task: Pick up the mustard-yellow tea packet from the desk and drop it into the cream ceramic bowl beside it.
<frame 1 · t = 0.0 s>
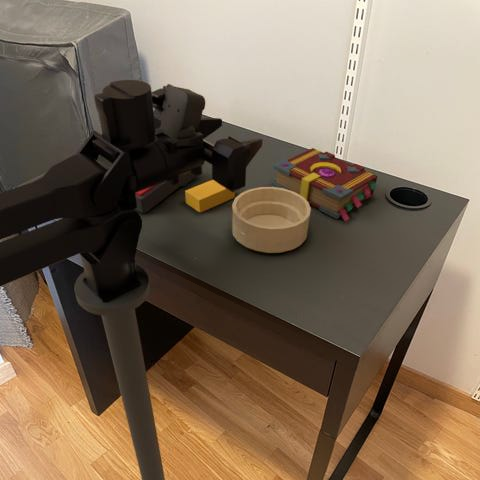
hand: (240, 131, 73), 14 cm above the table, tool horizontal, fingers open, 9 cm apart
calculator: (147, 187, 88), on the table
decorative book: (324, 194, 88), on the table
bowl: (269, 233, 79), on the table
packet: (210, 200, 86), on the table
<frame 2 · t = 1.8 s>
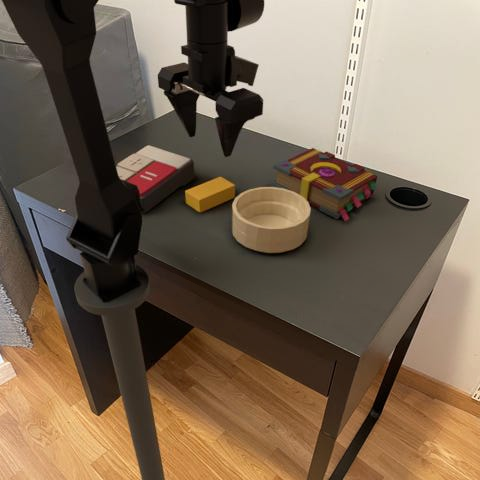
hand: (209, 146, 78), 10 cm above the table, tool pointing down, fingers open, 9 cm apart
nothing on the table moved.
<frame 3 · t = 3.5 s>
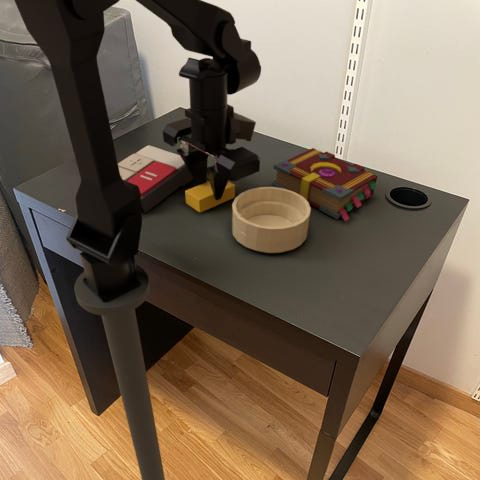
hand: (210, 194, 85), 1 cm above the table, tool pointing down, fingers closed on packet, 4 cm apart
packet: (210, 200, 86), on the table, touching gripper
everything else where it was.
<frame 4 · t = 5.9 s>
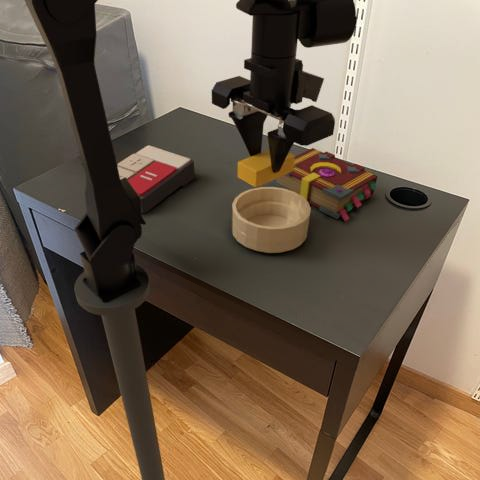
hand: (266, 166, 72), 11 cm above the table, tool pointing down, fingers closed on packet, 4 cm apart
packet: (265, 174, 73), point 10 cm above the table, touching gripper
everything else where it was.
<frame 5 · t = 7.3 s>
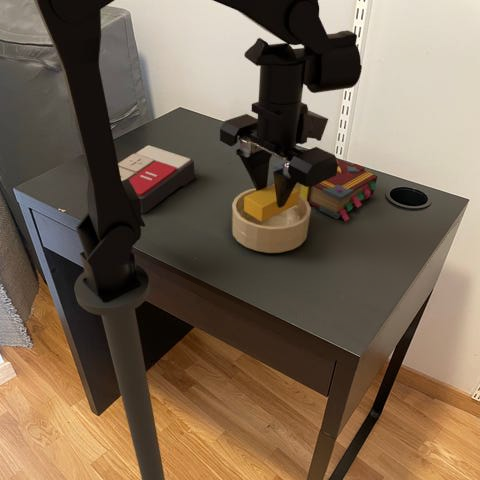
hand: (271, 200, 74), 6 cm above the table, tool pointing down, fingers closed on packet, 4 cm apart
packet: (271, 207, 75), point 5 cm above the table, touching gripper
everything else where it was.
when the fingers open (3 cm above the table, at t = 8.5 s): packet drops 1 cm, resting on bowl.
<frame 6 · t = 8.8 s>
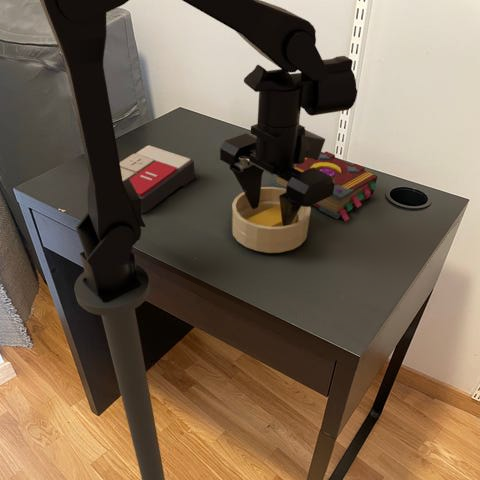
hand: (270, 217, 77), 3 cm above the table, tool pointing down, fingers open, 7 cm apart
packet: (269, 230, 78), point 1 cm above the table, touching bowl
everything else where it was.
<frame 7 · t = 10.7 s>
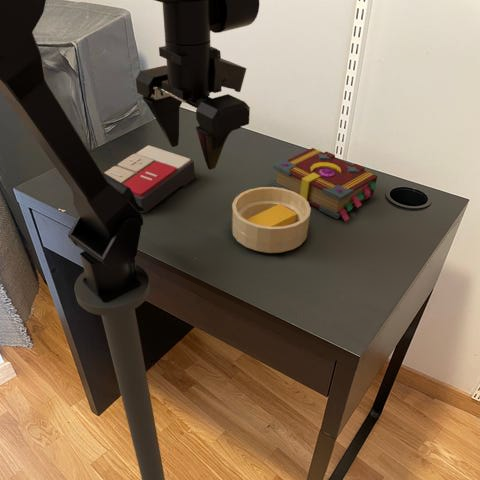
hand: (192, 156, 72), 12 cm above the table, tool pointing down, fingers open, 9 cm apart
nothing on the table moved.
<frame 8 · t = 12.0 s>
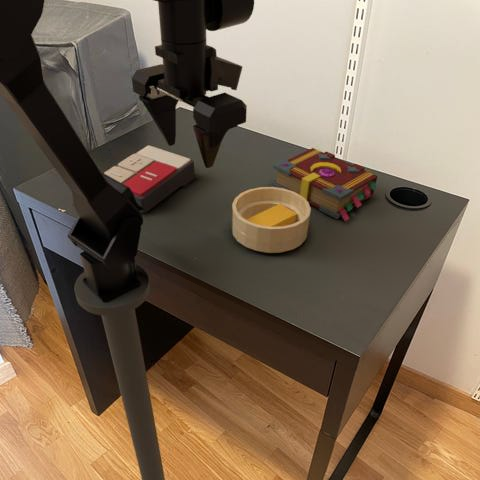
hand: (189, 155, 72), 12 cm above the table, tool pointing down, fingers open, 9 cm apart
nothing on the table moved.
at the end: packet inside the target area in the bowl (0.0 cm from its centre), point 0.6 cm above the bowl's base; the gripper is holding nothing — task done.
